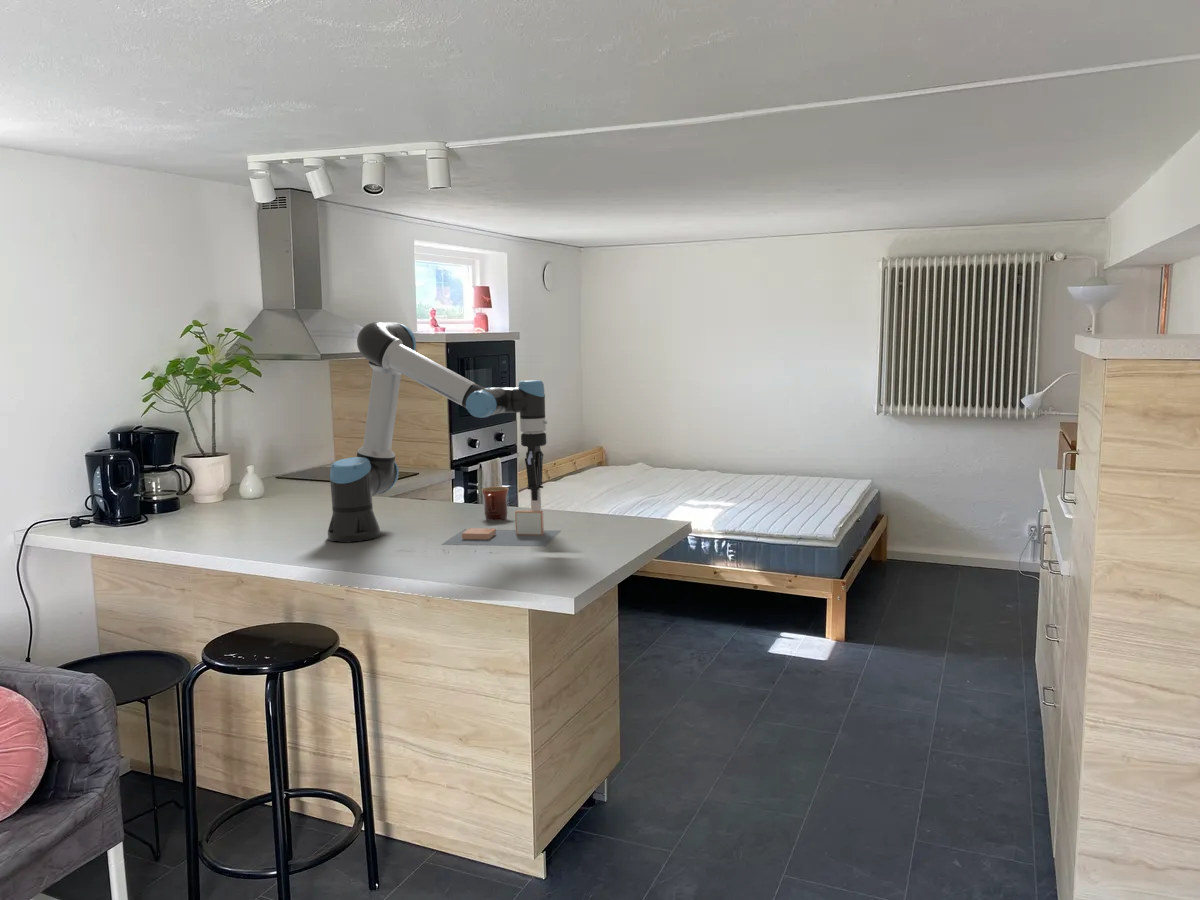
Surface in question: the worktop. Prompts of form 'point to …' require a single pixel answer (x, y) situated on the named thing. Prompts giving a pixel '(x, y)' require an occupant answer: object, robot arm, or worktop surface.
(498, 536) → the mat
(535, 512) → the tile
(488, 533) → the tile
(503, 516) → the mug
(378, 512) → the worktop surface
